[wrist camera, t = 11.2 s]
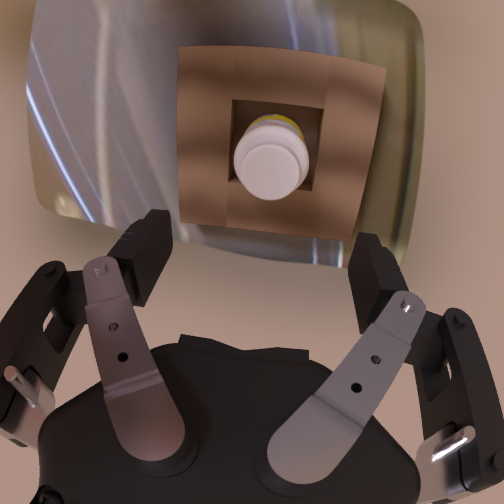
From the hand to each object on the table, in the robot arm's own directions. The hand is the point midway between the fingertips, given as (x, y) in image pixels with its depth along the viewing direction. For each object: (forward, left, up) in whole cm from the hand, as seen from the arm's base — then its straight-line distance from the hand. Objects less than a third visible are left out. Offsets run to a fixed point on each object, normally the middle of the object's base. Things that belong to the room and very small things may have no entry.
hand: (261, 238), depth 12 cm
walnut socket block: (0, 0, -19) cm, 19 cm away
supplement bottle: (0, 0, -18) cm, 18 cm away
